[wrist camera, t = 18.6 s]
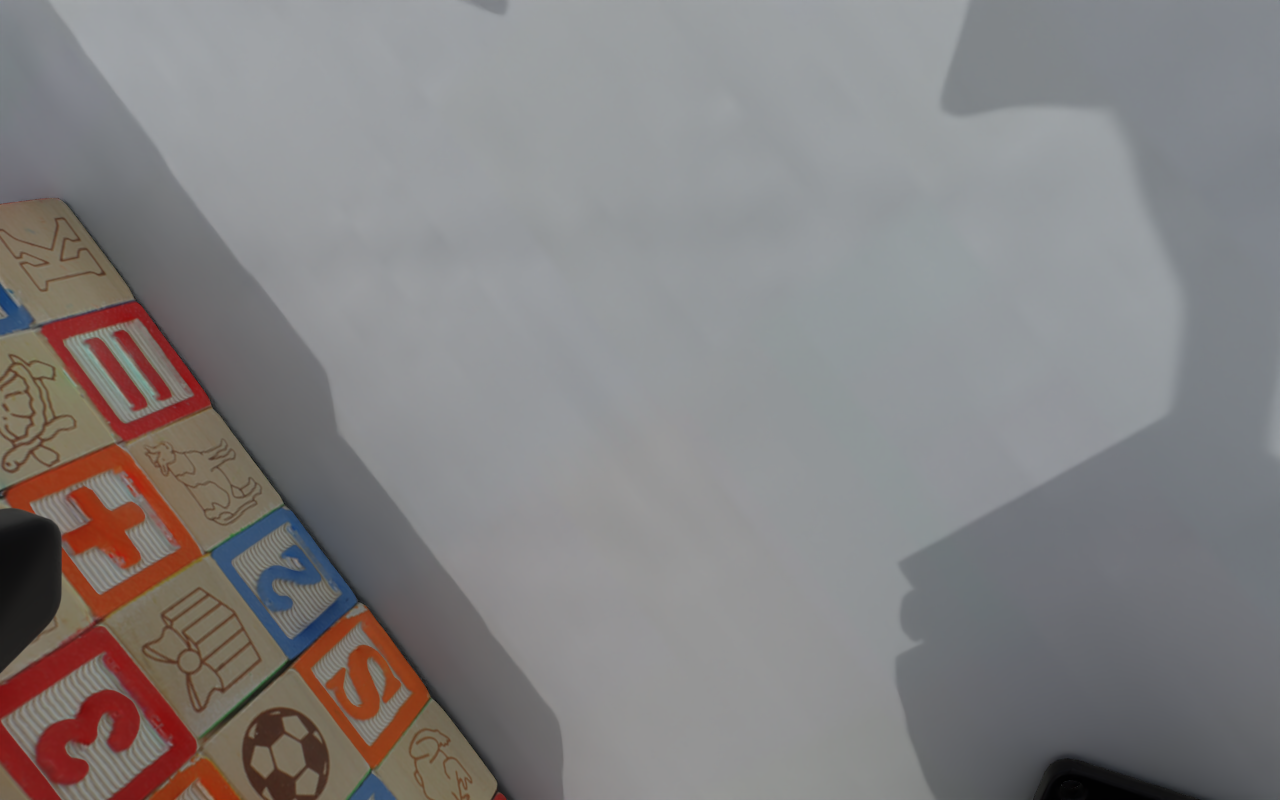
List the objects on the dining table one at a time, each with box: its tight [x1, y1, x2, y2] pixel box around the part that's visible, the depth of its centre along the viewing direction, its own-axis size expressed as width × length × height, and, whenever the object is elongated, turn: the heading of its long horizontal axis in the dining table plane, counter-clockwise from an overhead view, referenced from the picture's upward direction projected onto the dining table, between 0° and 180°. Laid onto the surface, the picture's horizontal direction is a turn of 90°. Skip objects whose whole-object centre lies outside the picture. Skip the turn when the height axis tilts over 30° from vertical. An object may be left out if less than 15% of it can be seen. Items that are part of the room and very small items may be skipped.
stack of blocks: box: [0, 198, 507, 800], centre depth 20 cm, size 21×6×12 cm, turn 36°
